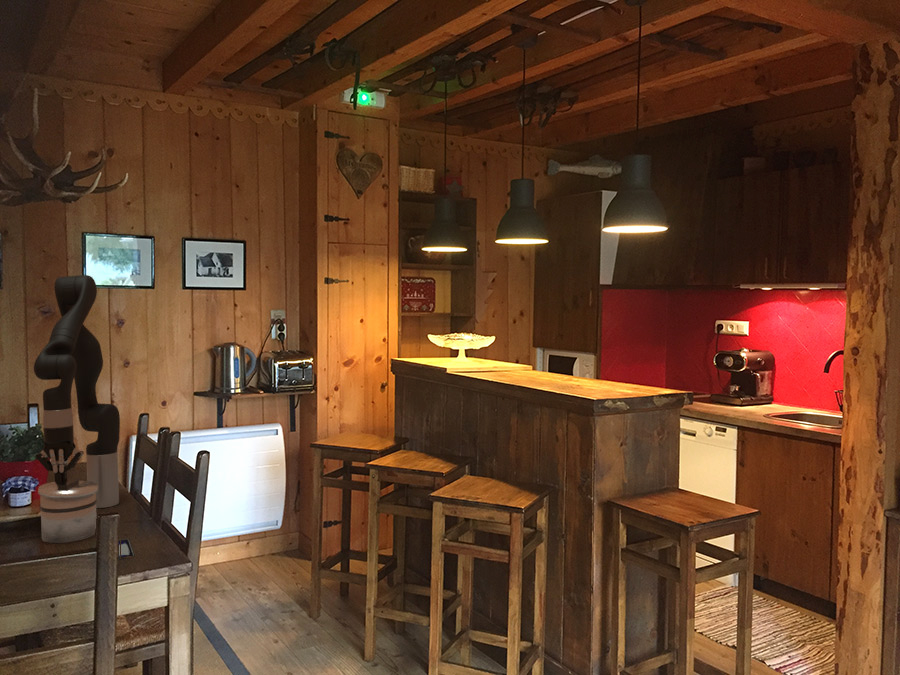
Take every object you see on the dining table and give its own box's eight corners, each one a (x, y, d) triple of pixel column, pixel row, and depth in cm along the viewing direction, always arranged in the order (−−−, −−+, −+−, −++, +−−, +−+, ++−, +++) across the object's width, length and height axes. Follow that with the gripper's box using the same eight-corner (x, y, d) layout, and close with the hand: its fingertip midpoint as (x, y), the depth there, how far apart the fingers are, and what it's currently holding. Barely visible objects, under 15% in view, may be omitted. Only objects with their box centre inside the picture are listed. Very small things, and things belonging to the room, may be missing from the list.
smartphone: (103, 561, 188) (99, 543, 202) (103, 564, 188) (99, 546, 202) (134, 556, 192) (128, 538, 205) (134, 559, 192) (128, 542, 205)
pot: (55, 528, 217) (53, 487, 217) (105, 526, 218) (104, 486, 218) (31, 544, 203) (29, 500, 202) (85, 542, 204) (84, 499, 204)
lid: (53, 483, 217) (53, 473, 217) (105, 486, 218) (106, 477, 218) (28, 496, 202) (28, 486, 202) (84, 499, 203) (85, 490, 203)
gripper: (87, 421, 215) (90, 480, 215) (40, 423, 214) (43, 482, 214) (76, 426, 207) (79, 487, 208) (27, 427, 206) (30, 489, 207)
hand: (61, 484), depth 211 cm, fingers closed
